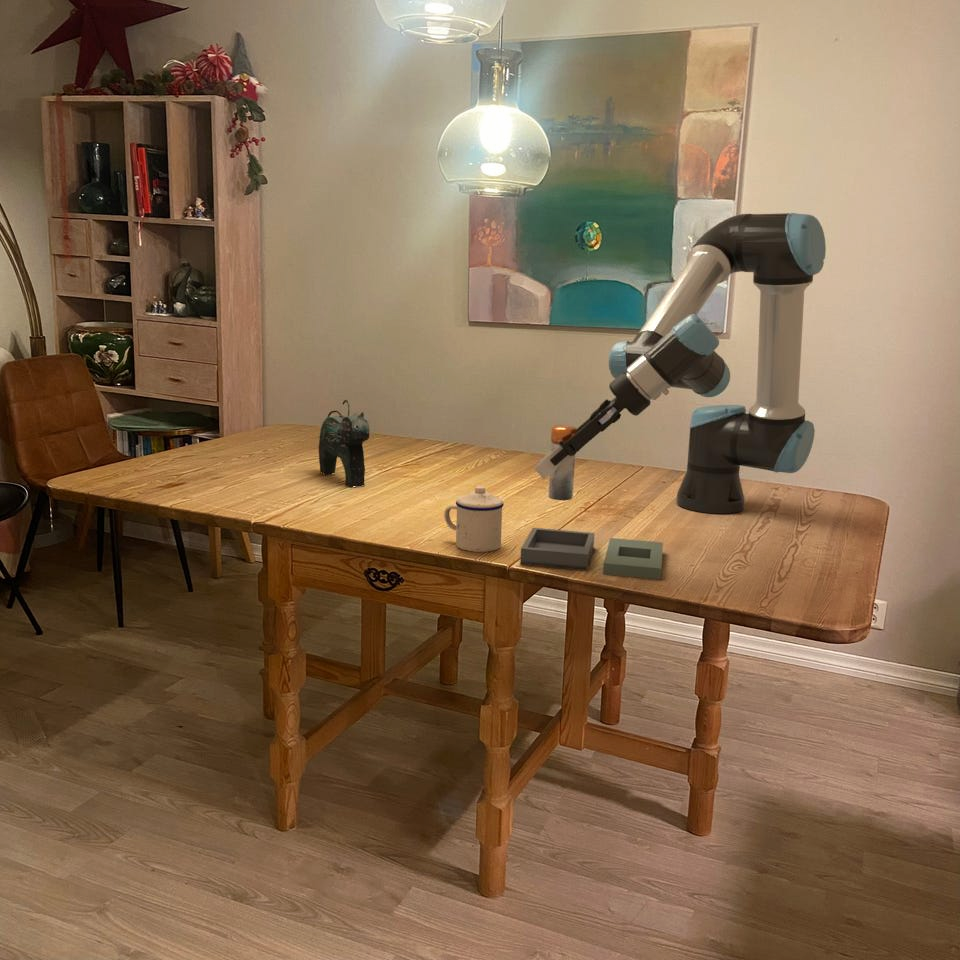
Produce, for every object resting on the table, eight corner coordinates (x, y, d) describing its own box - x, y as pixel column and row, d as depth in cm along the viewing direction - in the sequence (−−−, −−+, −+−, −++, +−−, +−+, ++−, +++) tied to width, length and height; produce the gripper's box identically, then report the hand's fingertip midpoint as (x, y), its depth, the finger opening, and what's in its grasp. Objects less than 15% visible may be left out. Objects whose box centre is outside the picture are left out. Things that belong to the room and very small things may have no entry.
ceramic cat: (372, 487, 221) (372, 404, 217) (347, 490, 218) (347, 405, 213) (334, 470, 237) (334, 392, 233) (311, 473, 234) (310, 394, 229)
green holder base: (609, 547, 180) (610, 537, 179) (662, 552, 178) (663, 542, 178) (602, 573, 165) (603, 563, 164) (660, 579, 163) (661, 568, 162)
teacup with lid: (509, 543, 181) (512, 485, 178) (488, 556, 173) (490, 495, 170) (455, 534, 186) (457, 477, 183) (432, 545, 178) (434, 486, 175)
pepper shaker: (549, 493, 174) (553, 424, 171) (574, 495, 173) (578, 426, 170) (546, 499, 169) (550, 428, 167) (571, 501, 169) (575, 430, 166)
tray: (532, 542, 182) (532, 527, 181) (593, 547, 180) (594, 532, 179) (520, 564, 169) (520, 548, 168) (586, 570, 166) (587, 554, 166)
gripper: (651, 409, 156) (548, 496, 163) (654, 395, 172) (560, 475, 179) (621, 375, 155) (519, 465, 162) (627, 365, 172) (534, 446, 179)
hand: (541, 470), depth 171 cm, fingers closed on pepper shaker, 4 cm apart
